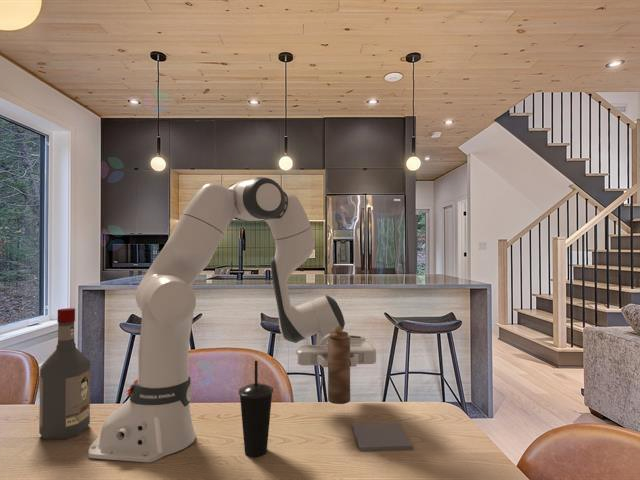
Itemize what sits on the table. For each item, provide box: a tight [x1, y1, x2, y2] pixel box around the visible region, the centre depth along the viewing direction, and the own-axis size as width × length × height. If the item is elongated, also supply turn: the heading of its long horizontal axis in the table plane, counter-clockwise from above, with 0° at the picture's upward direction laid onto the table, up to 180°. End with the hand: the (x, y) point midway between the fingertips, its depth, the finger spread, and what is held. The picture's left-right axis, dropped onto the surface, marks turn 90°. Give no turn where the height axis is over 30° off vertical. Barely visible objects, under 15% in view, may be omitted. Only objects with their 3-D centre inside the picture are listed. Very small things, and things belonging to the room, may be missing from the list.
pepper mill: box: [327, 326, 351, 405], centre depth 99 cm, size 5×5×18 cm
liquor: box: [38, 307, 91, 440], centre depth 100 cm, size 9×9×30 cm
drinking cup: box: [238, 360, 274, 458], centre depth 90 cm, size 8×8×20 cm
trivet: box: [351, 422, 414, 452], centre depth 96 cm, size 12×12×1 cm
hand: (339, 363), depth 98 cm, fingers closed on pepper mill, 5 cm apart
